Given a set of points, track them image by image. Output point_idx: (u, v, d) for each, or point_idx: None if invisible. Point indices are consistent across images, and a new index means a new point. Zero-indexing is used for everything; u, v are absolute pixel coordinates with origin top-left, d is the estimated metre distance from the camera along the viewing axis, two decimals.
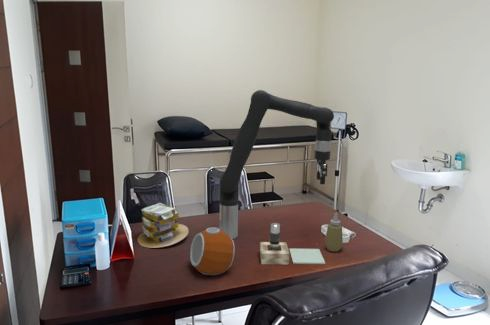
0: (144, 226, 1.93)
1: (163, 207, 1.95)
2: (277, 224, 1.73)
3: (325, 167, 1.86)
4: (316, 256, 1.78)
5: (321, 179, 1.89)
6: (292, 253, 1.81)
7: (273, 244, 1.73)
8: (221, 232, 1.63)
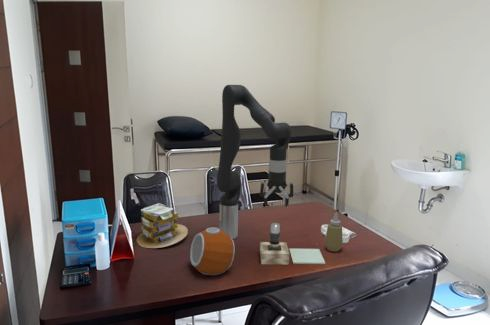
0: (143, 226, 1.93)
1: (162, 207, 1.94)
2: (277, 224, 1.73)
3: None
4: (316, 256, 1.78)
5: (287, 201, 1.70)
6: (292, 253, 1.81)
7: (273, 244, 1.73)
8: (221, 232, 1.63)
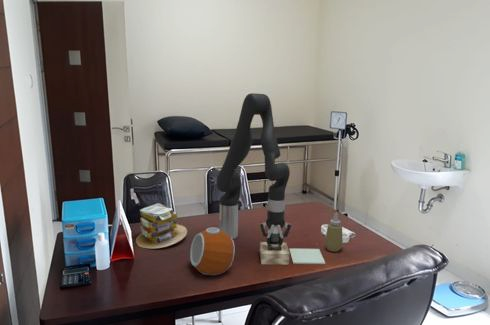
0: (142, 227, 1.93)
1: (161, 208, 1.94)
2: None
3: None
4: (316, 256, 1.78)
5: (281, 240, 1.74)
6: (292, 253, 1.81)
7: (273, 244, 1.73)
8: (221, 232, 1.63)
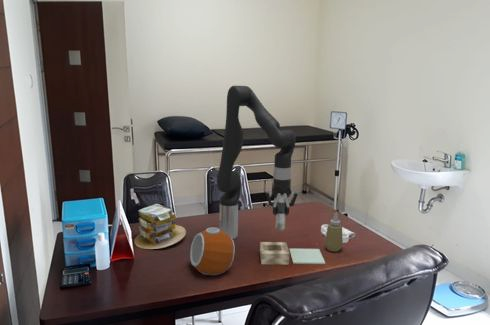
0: (141, 227, 1.92)
1: (160, 208, 1.93)
2: None
3: None
4: (316, 256, 1.78)
5: (288, 210, 1.71)
6: (292, 253, 1.81)
7: (279, 213, 1.70)
8: (221, 232, 1.63)
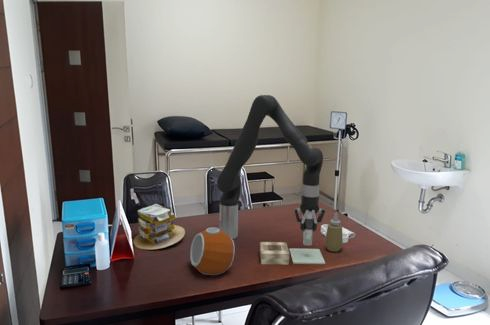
0: (140, 227, 1.92)
1: (159, 208, 1.93)
2: None
3: None
4: (316, 256, 1.78)
5: (315, 226, 1.75)
6: (292, 253, 1.81)
7: (307, 229, 1.74)
8: (221, 232, 1.63)
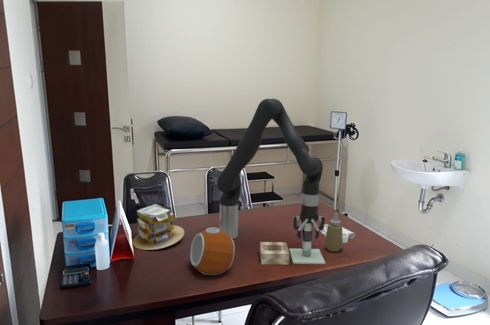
0: (139, 227, 1.91)
1: (159, 208, 1.93)
2: None
3: None
4: (316, 256, 1.78)
5: (317, 233, 1.76)
6: (292, 253, 1.81)
7: (306, 241, 1.75)
8: (221, 232, 1.63)
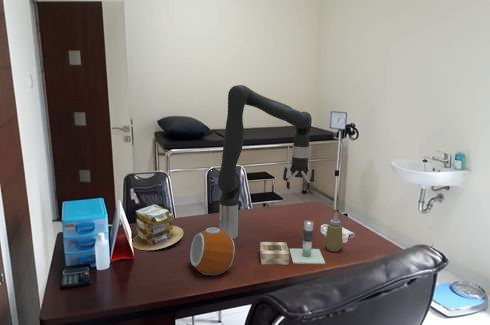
0: (138, 228, 1.91)
1: (158, 209, 1.92)
2: (311, 222, 1.75)
3: (313, 171, 1.83)
4: (316, 256, 1.78)
5: (308, 185, 1.83)
6: (292, 253, 1.81)
7: (306, 241, 1.75)
8: (221, 232, 1.63)
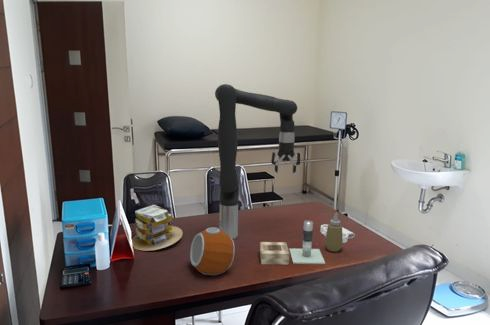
0: (137, 228, 1.90)
1: (157, 209, 1.92)
2: (310, 222, 1.75)
3: None
4: (316, 256, 1.78)
5: (295, 168, 1.98)
6: (292, 253, 1.81)
7: (306, 241, 1.75)
8: (221, 232, 1.63)
